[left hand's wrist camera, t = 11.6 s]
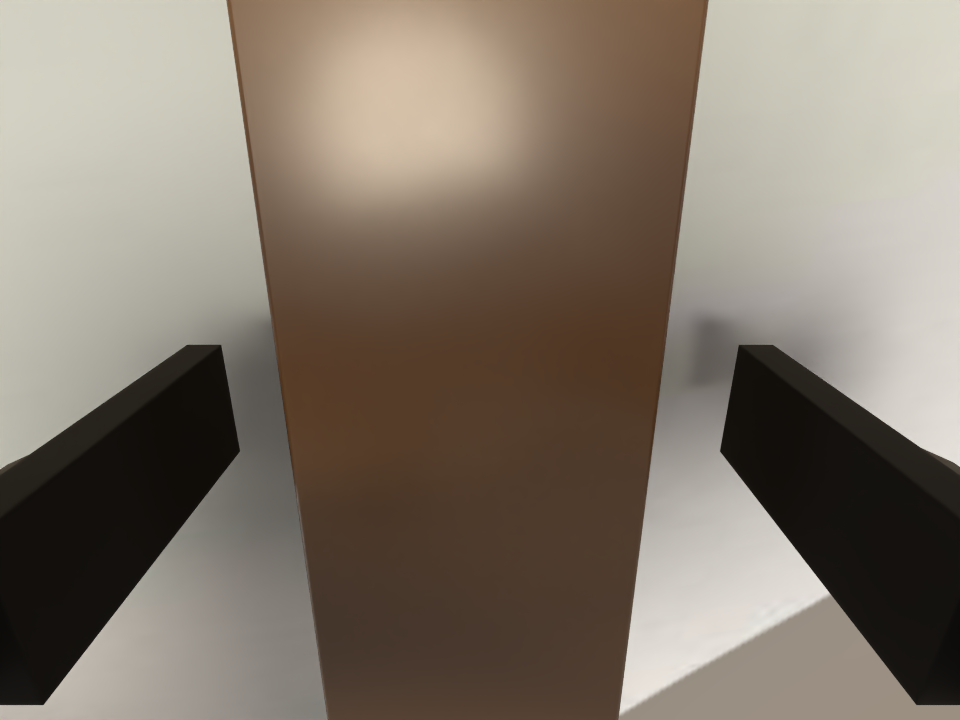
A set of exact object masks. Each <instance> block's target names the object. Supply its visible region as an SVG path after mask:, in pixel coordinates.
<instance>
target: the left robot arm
mask: <svg viewBox="0 0 960 720" xmlns="http://www.w3.org/2000/svg"><path fill="white" fill-rule="evenodd" d="M239 452H240V449H239V443H238V438H237V432H236V426H235V421H234V415H233V409H232V404H231V398H230V392H229V387H228V381H227V376H226V370H225V364H224V359H223V353H222V347H221V345H187V346H185V347H184V348H182V349H181V350H179V351H178V352H176V353H175V354H174V355H172V356H171V357H169V358H168V359H166V360H165V361H164V362H162V363H161V364H159V365H158V366H156V367H155V368H153V369H152V370H151V371H149V372H148V373H146V374H145V375H143V376H142V377H141V378H139V379H138V380H136V381H135V382H133V383H132V384H130V385H129V386H128V387H126V388H125V389H123V390H122V391H120V392H119V393H118V394H116V395H115V396H113V397H112V398H110V399H109V400H107V401H106V402H105V403H103V404H102V405H100V406H99V407H97V408H96V409H95V410H93V411H92V412H90V413H89V414H87V415H86V416H84V417H83V418H82V419H80V420H79V421H77V422H76V423H74V424H73V425H72V426H70V427H69V428H67V429H66V430H64V431H63V432H61V433H60V434H59V435H57V436H56V437H54V438H53V439H51V440H50V441H49V442H47V443H46V444H44V445H43V446H41V447H40V448H38V449H37V450H36V451H34V452H33V453H31V454H30V455H28V456H26V457H23V458H21V459H19V460H17V461H14V462H12V463H10V464H8V465H6V466H5V467H3V468H2V469H1V470H0V705H44V704H45V702H46V701H47V700H48V698H49V697H50V696H51V694H52V693H53V692H54V691H55V689H56V688H57V687H58V685H59V684H60V683H61V682H62V680H63V679H64V678H65V676H66V675H67V674H68V673H69V671H70V670H71V669H72V667H73V666H74V665H75V664H76V662H77V661H78V660H79V658H80V657H81V656H82V654H83V653H84V652H85V651H86V649H87V648H88V647H89V645H90V644H91V643H92V642H93V640H94V639H95V638H96V636H97V635H98V634H99V633H100V631H101V630H102V629H103V627H104V626H105V625H106V623H107V622H108V621H109V620H110V618H111V617H112V616H113V614H114V613H115V612H116V611H117V609H118V608H119V607H120V605H121V604H122V603H123V602H124V600H125V599H126V598H127V596H128V595H129V594H130V593H131V591H132V590H133V589H134V587H135V586H136V585H137V583H138V582H139V581H140V580H141V578H142V577H143V576H144V574H145V573H146V572H147V571H148V569H149V568H150V567H151V565H152V564H153V563H154V562H155V560H156V559H157V558H158V556H159V555H160V554H161V552H162V551H163V550H164V549H165V547H166V546H167V545H168V543H169V542H170V541H171V540H172V538H173V537H174V536H175V534H176V533H177V532H178V531H179V529H180V528H181V527H182V525H183V524H184V523H185V522H186V520H187V519H188V518H189V516H190V515H191V514H192V512H193V511H194V510H195V509H196V507H197V506H198V505H199V503H200V502H201V501H202V500H203V498H204V497H205V496H206V494H207V493H208V492H209V491H210V489H211V488H212V487H213V485H214V484H215V483H216V481H217V480H218V479H219V478H220V476H221V475H222V474H223V472H224V471H225V470H226V469H227V467H228V466H229V465H230V463H231V462H232V461H233V460H234V458H235V457H236V456H237V454H238V453H239ZM720 452H721V453H722V454H723V456H724V457H725V458H726V460H727V461H728V462H729V463H730V465H731V466H732V467H733V469H734V470H735V471H736V472H737V474H738V475H739V476H740V478H741V479H742V480H743V481H744V483H745V484H746V485H747V487H748V488H749V489H750V491H751V492H752V493H753V494H754V496H755V497H756V498H757V500H758V501H759V502H760V503H761V505H762V506H763V507H764V509H765V510H766V511H767V512H768V514H769V515H770V516H771V518H772V519H773V520H774V521H775V523H776V524H777V525H778V527H779V528H780V529H781V531H782V532H783V533H784V534H785V536H786V537H787V538H788V540H789V541H790V542H791V543H792V545H793V546H794V547H795V549H796V550H797V551H798V552H799V554H800V555H801V556H802V558H803V559H804V560H805V562H806V563H807V564H808V565H809V567H810V568H811V569H812V571H813V572H814V573H815V574H816V576H817V577H818V578H819V580H820V581H821V582H822V583H823V585H824V586H825V587H826V589H827V590H828V591H829V592H830V594H831V595H832V596H833V598H834V599H835V600H836V602H837V603H838V604H839V605H840V607H841V608H842V609H843V611H844V612H845V613H846V614H847V616H848V617H849V618H850V620H851V621H852V622H853V623H854V625H855V626H856V627H857V629H858V630H859V631H860V633H861V634H862V635H863V636H864V638H865V639H866V640H867V642H868V643H869V644H870V645H871V647H872V648H873V649H874V651H875V652H876V653H877V654H878V656H879V657H880V658H881V660H882V661H883V662H884V663H885V665H886V666H887V667H888V669H889V670H890V671H891V673H892V674H893V675H894V676H895V678H896V679H897V680H898V682H899V683H900V684H901V685H902V687H903V688H904V689H905V691H906V692H907V693H908V694H909V696H910V697H911V698H912V700H913V701H914V702H915V704H916V705H960V467H959V466H958V465H956V464H955V463H953V462H951V461H949V460H947V459H944V458H942V457H940V456H938V455H935V454H933V453H931V452H929V451H926V450H924V449H922V448H920V447H919V446H917V445H916V444H914V443H913V442H912V441H910V440H909V439H907V438H906V437H904V436H903V435H901V434H900V433H899V432H897V431H896V430H894V429H893V428H891V427H890V426H889V425H887V424H886V423H884V422H883V421H881V420H880V419H878V418H877V417H876V416H874V415H873V414H871V413H870V412H868V411H867V410H866V409H864V408H863V407H861V406H860V405H858V404H857V403H855V402H854V401H853V400H851V399H850V398H848V397H847V396H845V395H844V394H843V393H841V392H840V391H838V390H837V389H835V388H834V387H832V386H831V385H830V384H828V383H827V382H825V381H824V380H822V379H821V378H820V377H818V376H817V375H815V374H814V373H812V372H811V371H809V370H808V369H807V368H805V367H804V366H802V365H801V364H799V363H798V362H797V361H795V360H794V359H792V358H791V357H789V356H788V355H786V354H785V353H784V352H782V351H781V350H779V349H778V348H776V347H775V346H774V345H739V347H738V353H737V359H736V364H735V370H734V376H733V381H732V387H731V393H730V398H729V404H728V409H727V415H726V421H725V426H724V432H723V438H722V443H721V449H720Z"/></svg>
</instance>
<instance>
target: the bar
mask: <svg viewBox="0 0 960 720" xmlns="http://www.w3.org/2000/svg"><path fill="white" fill-rule="evenodd" d="M708 1H709V0H227V7H228V15H229V22H230V29H231V36H232V43H233V50H234V57H235V64H236V71H237V79H238V86H239V93H240V100H241V107H242V114H243V121H244V128H245V135H246V143H247V150H248V157H249V164H250V171H251V178H252V185H253V192H254V199H255V207H256V214H257V221H258V228H259V235H260V242H261V249H262V256H263V263H264V271H265V278H266V285H267V292H268V299H269V306H270V313H271V320H272V327H273V334H274V342H275V349H276V356H277V363H278V370H279V377H280V384H281V391H282V398H283V406H284V413H285V420H286V427H287V434H288V441H289V448H290V455H291V462H292V470H293V477H294V484H295V491H296V498H297V505H298V512H299V519H300V526H301V534H302V541H303V548H304V555H305V562H306V569H307V576H308V583H309V590H310V598H311V605H312V612H313V619H314V626H315V633H316V640H317V647H318V654H319V662H320V669H321V676H322V683H323V690H324V697H325V704H326V711H327V718H328V720H618V718H619V710H620V702H621V694H622V686H623V678H624V670H625V662H626V654H627V646H628V638H629V630H630V622H631V614H632V606H633V598H634V590H635V582H636V574H637V566H638V559H639V551H640V543H641V535H642V527H643V519H644V511H645V503H646V495H647V487H648V479H649V471H650V463H651V455H652V447H653V439H654V431H655V423H656V415H657V407H658V399H659V391H660V383H661V375H662V367H663V359H664V351H665V344H666V336H667V328H668V320H669V312H670V304H671V296H672V288H673V280H674V272H675V264H676V256H677V248H678V240H679V232H680V224H681V216H682V208H683V200H684V192H685V184H686V176H687V168H688V160H689V152H690V144H691V136H692V129H693V121H694V113H695V105H696V97H697V89H698V81H699V73H700V65H701V57H702V49H703V41H704V33H705V25H706V17H707V9H708Z"/></svg>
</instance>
